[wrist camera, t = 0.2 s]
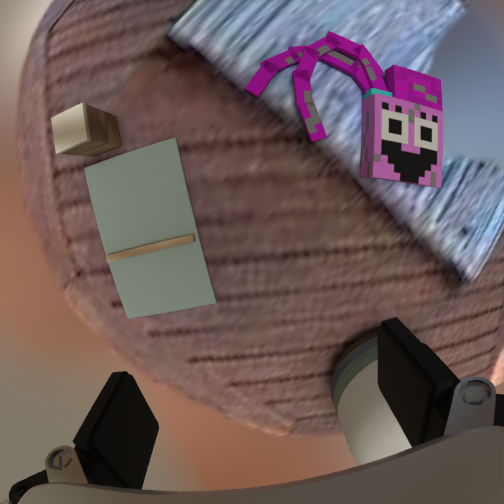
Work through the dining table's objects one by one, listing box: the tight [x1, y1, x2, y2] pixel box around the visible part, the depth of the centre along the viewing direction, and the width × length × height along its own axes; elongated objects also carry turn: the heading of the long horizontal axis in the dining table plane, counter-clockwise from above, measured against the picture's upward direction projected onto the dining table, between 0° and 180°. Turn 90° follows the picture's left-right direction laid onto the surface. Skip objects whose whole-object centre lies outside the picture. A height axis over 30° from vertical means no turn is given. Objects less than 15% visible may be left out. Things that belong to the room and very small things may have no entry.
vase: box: [331, 332, 412, 465], centre depth 34 cm, size 17×17×24 cm
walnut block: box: [51, 103, 122, 156], centre depth 31 cm, size 4×4×10 cm
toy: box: [245, 31, 443, 188], centre depth 34 cm, size 27×5×20 cm
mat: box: [84, 138, 217, 319], centre depth 39 cm, size 23×14×1 cm, turn 12°
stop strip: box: [105, 233, 195, 263], centre depth 39 cm, size 1×13×1 cm, turn 102°
